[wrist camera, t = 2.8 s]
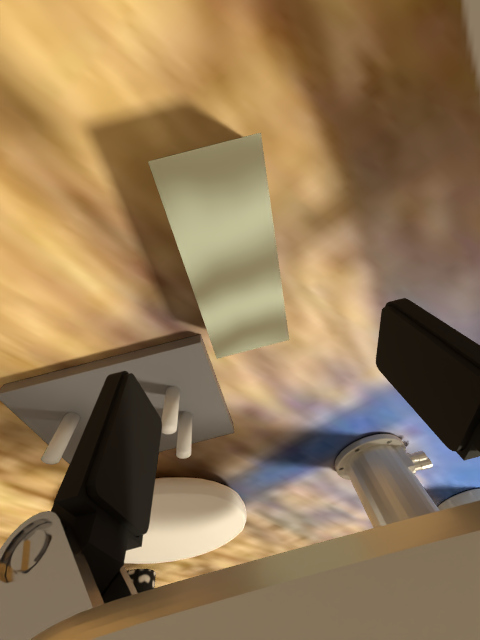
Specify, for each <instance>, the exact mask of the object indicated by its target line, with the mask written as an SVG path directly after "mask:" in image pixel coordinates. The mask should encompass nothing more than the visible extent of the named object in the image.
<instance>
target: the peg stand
mask: <svg viewBox="0 0 480 640" xmlns="http://www.w3.org/2000/svg"><path fill="white" fill-rule="evenodd" d="M121 371H127V372H128V373H129V374H130V373H132V374H134V376H135V377H136V379H137V381H138V382H139V384H140V385H141V387H142V389H143V390H144V392H145V393H146V395H147V397H148V398H149V400H150V401H151V403H152V405H153V406H154V408H155V410H156V411H157V413H158V414H159V416H160V418H161V421H162V432H161V439H160V447H159V452H161V451H165V450H169V449H173V448H177V449H176V456H177V457H178V458H181V459H185V458H188V457H190V456H191V444H192V443H196V442H200V441H204V440H208V439H212V438H215V437H219V436H223V435H227V434H231V433H234V426H233V422H232V419H231V416H230V413H229V411H228V408H227V405H226V403H225V400H224V397H223V394H222V392H221V389H220V386H219V383H218V381H217V378H216V375H215V372H214V370H213V367H212V364H211V361H210V359H209V356H208V353H207V351H206V348H205V345H204V342H203V340H202V337H201V334H200V335H196V336H192V337H188V338H184V339H181V340H177V341H173V342H169V343H165V344H161V345H157V346H153V347H149V348H145V349H141V350H137V351H134V352H130V353H126V354H122V355H118V356H114V357H110V358H106V359H102V360H98V361H94V362H91V363H87V364H83V365H79V366H75V367H71V368H67V369H63V370H59V371H55V372H51V373H47V374H44V375H40V376H36V377H32V378H28V379H24V380H20V381H16V382H12V383H8V384H4V385H3V386H2V387H1V389H0V401H1V402H3V403H4V404H5V405H6V406H7V407H8V408H9V409H10V410H11V411H12V412H13V413H14V414H16V415H17V416H18V417H19V418H20V419H21V420H22V421H23V422H24V423H25V424H26V425H28V426H29V427H30V428H31V429H32V430H33V431H34V432H35V433H36V434H37V435H38V436H39V437H41V438H42V439H43V440H44V441H45V442H46V443H47V444H48V447H47V449H46V451H45V452H44V454H43V456H42V458H41V460H42V461H43V462H44V463H46V464H56V463H58V462H59V461H60V459H61V457H62V458H63V459H64V460H65V461H67V462H68V463H69V464H70V463H71V461H72V458H73V456H74V453H75V451H76V449H77V446H78V444H79V442H80V439H81V437H82V434H83V432H84V430H85V427H86V425H87V423H88V420H89V418H90V416H91V413H92V411H93V408H94V406H95V404H96V401H97V399H98V397H99V394H100V392H101V389H102V387H103V385H104V382H105V380H106V378H107V376H108V375H110V374H114V373H117V372H121Z"/></svg>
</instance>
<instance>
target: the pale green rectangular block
mask: <svg viewBox="0 0 480 640" xmlns="http://www.w3.org/2000/svg"><path fill="white" fill-rule="evenodd" d="M148 163H149V166H150V169H151V172H152V175H153V177H154V180H155V183H156V186H157V189H158V192H159V195H160V197H161V200H162V203H163V206H164V209H165V212H166V215H167V217H168V220H169V223H170V226H171V229H172V232H173V235H174V237H175V240H176V243H177V246H178V249H179V252H180V255H181V257H182V260H183V263H184V266H185V269H186V272H187V275H188V277H189V280H190V283H191V286H192V289H193V292H194V295H195V297H196V300H197V303H198V306H199V309H200V312H201V315H202V317H203V320H204V323H205V326H206V329H207V332H208V335H209V337H210V340H211V343H212V346H213V349H214V352H215V355H216V357H217V359H218V358H222V357H225V356H229V355H233V354H237V353H241V352H245V351H249V350H252V349H256V348H260V347H264V346H268V345H272V344H276V343H279V342H283V341H287V340H289V335H288V328H287V320H286V313H285V306H284V298H283V291H282V284H281V277H280V269H279V262H278V255H277V247H276V240H275V233H274V226H273V218H272V211H271V204H270V196H269V189H268V182H267V175H266V167H265V160H264V153H263V146H262V138H261V133H257V134H254V135H250V136H246V137H242V138H238V139H234V140H230V141H226V142H222V143H218V144H214V145H211V146H207V147H203V148H199V149H195V150H191V151H187V152H183V153H179V154H175V155H171V156H168V157H164V158H160V159H156V160H152V161H148Z"/></svg>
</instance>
